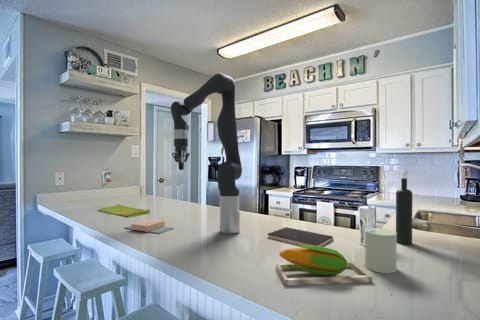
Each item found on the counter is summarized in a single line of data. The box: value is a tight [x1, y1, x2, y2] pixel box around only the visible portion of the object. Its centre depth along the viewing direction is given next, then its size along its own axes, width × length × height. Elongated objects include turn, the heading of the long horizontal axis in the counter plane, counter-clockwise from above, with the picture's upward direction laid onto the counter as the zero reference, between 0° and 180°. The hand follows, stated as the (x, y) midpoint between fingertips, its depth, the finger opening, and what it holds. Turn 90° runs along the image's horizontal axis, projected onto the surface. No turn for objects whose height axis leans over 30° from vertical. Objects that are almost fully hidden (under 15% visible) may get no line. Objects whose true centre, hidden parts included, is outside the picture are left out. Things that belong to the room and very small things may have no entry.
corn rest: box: [275, 261, 373, 286], centre depth 80 cm, size 25×11×2 cm, turn 95°
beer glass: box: [357, 205, 378, 247], centre depth 109 cm, size 7×7×15 cm
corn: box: [278, 245, 348, 277], centre depth 80 cm, size 7×8×20 cm
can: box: [363, 227, 398, 274], centre depth 85 cm, size 9×9×12 cm
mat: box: [124, 225, 174, 235], centre depth 132 cm, size 22×10×1 cm, turn 65°
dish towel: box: [97, 204, 151, 218], centre depth 173 cm, size 15×36×3 cm, turn 56°
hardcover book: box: [267, 227, 334, 247], centre depth 116 cm, size 16×23×2 cm
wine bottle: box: [395, 169, 413, 246], centre depth 110 cm, size 6×6×30 cm
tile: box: [130, 218, 166, 233], centre depth 132 cm, size 10×3×12 cm
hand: (181, 169), depth 147 cm, fingers closed
